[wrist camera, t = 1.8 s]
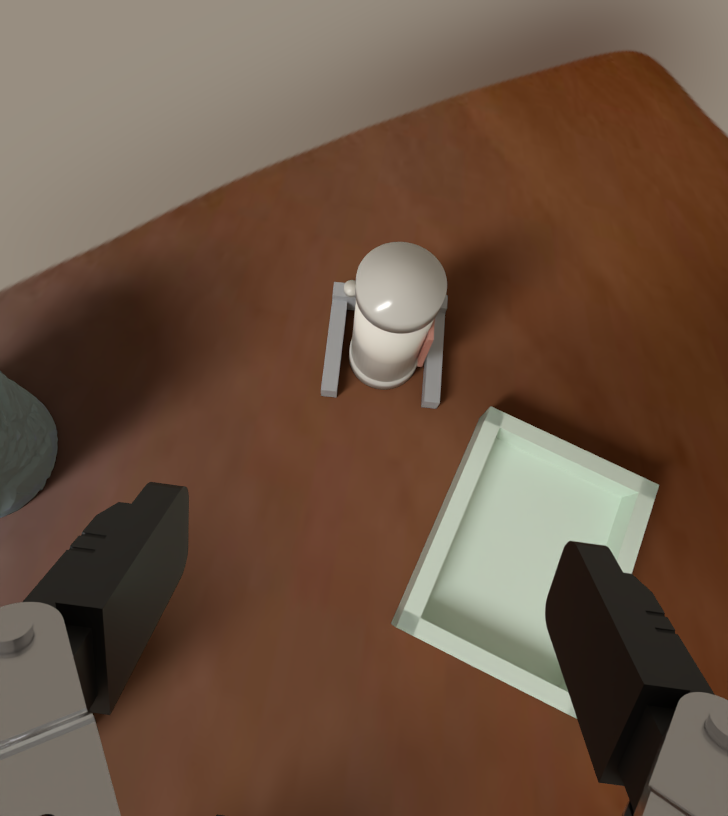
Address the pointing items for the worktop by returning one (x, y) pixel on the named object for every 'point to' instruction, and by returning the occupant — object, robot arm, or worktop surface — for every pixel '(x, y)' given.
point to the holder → (340, 305)
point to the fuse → (395, 313)
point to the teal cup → (23, 446)
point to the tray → (517, 549)
